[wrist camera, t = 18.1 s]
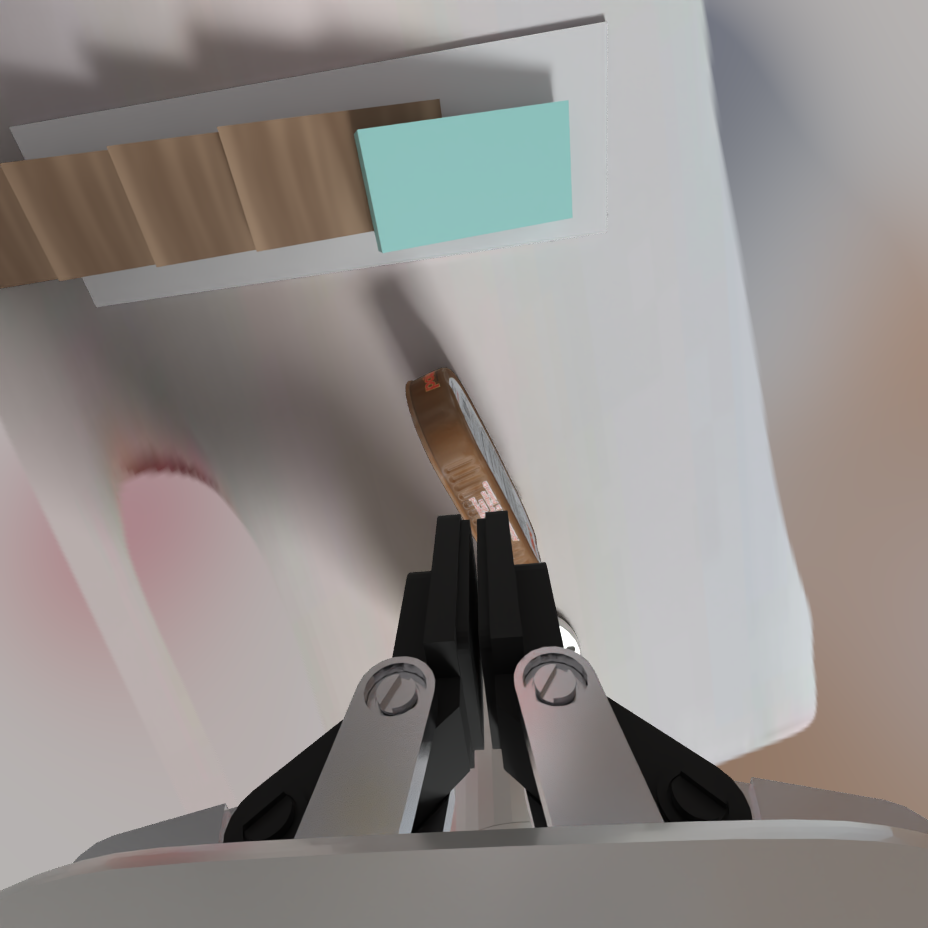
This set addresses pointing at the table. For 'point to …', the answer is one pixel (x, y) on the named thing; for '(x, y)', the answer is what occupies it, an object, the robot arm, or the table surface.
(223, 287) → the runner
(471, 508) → the tin
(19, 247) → the domino
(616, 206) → the table surface
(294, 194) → the domino
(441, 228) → the domino
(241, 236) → the domino
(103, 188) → the domino
